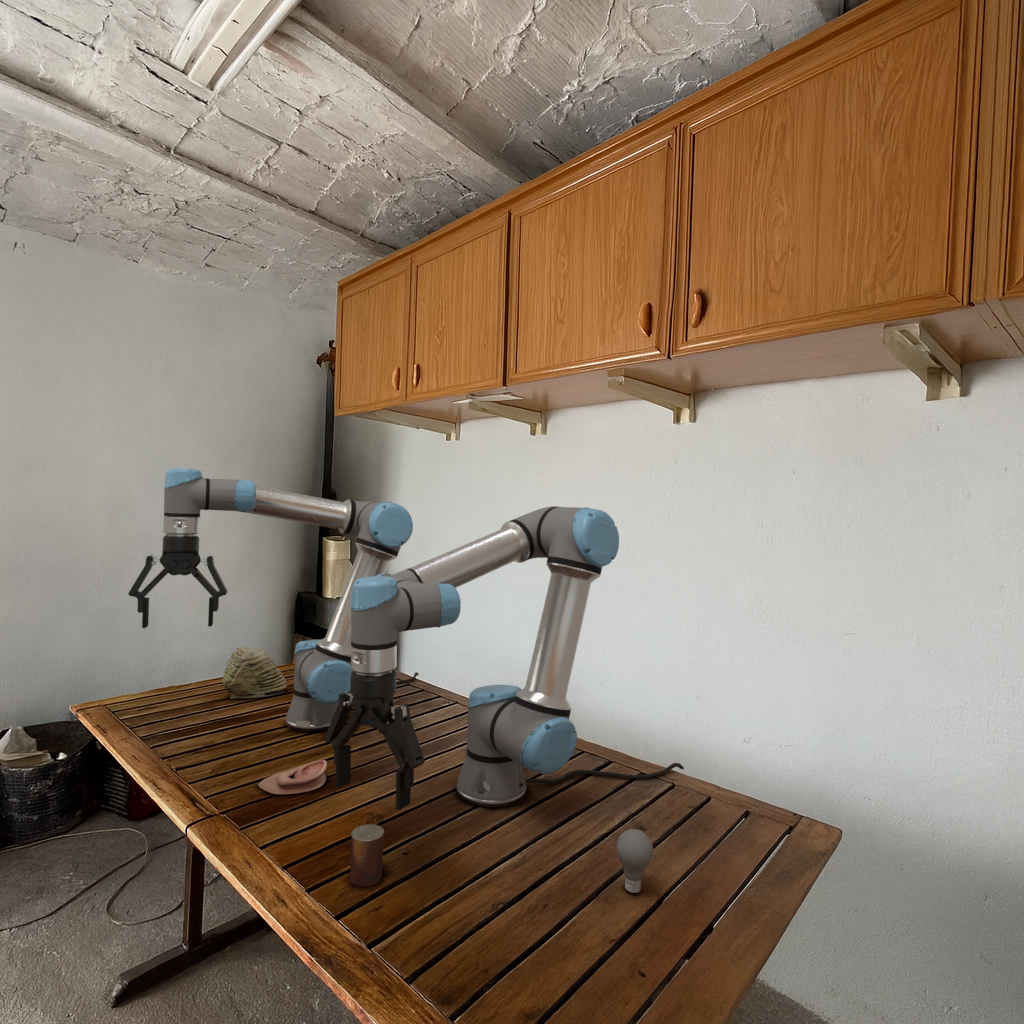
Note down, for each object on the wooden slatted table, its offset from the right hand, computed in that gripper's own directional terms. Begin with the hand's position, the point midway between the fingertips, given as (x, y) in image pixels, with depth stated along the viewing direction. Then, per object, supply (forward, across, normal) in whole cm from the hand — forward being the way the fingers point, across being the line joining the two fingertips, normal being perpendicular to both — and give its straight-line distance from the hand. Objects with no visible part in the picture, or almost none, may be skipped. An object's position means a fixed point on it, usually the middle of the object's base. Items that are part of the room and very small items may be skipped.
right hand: (372, 795), depth 106 cm
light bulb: (+15, +38, +22) cm, 46 cm away
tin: (+14, 0, -1) cm, 14 cm away
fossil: (+14, -96, +49) cm, 108 cm away
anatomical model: (+14, -37, +15) cm, 42 cm away
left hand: (-18, -68, +8) cm, 71 cm away
